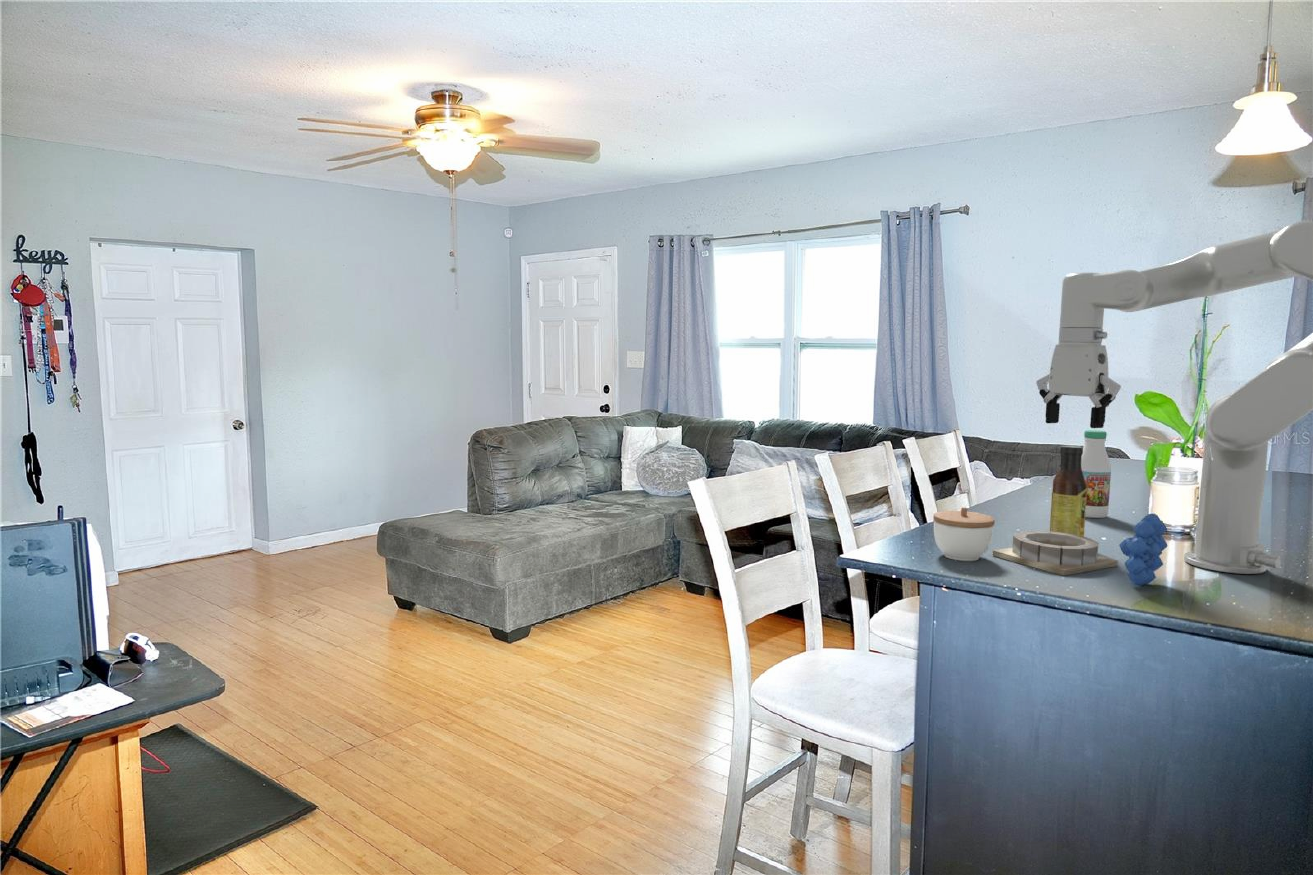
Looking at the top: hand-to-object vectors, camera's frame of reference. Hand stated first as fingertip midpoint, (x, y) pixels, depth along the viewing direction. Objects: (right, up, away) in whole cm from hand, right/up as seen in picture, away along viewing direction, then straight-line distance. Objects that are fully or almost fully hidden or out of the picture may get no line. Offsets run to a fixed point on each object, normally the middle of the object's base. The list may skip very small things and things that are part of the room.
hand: (1073, 425), depth 167 cm
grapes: (-1, -27, -23) cm, 36 cm away
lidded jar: (-25, -25, -8) cm, 36 cm away
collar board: (-8, -25, -9) cm, 28 cm away
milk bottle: (+20, -21, +33) cm, 44 cm away
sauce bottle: (0, -24, +3) cm, 24 cm away
